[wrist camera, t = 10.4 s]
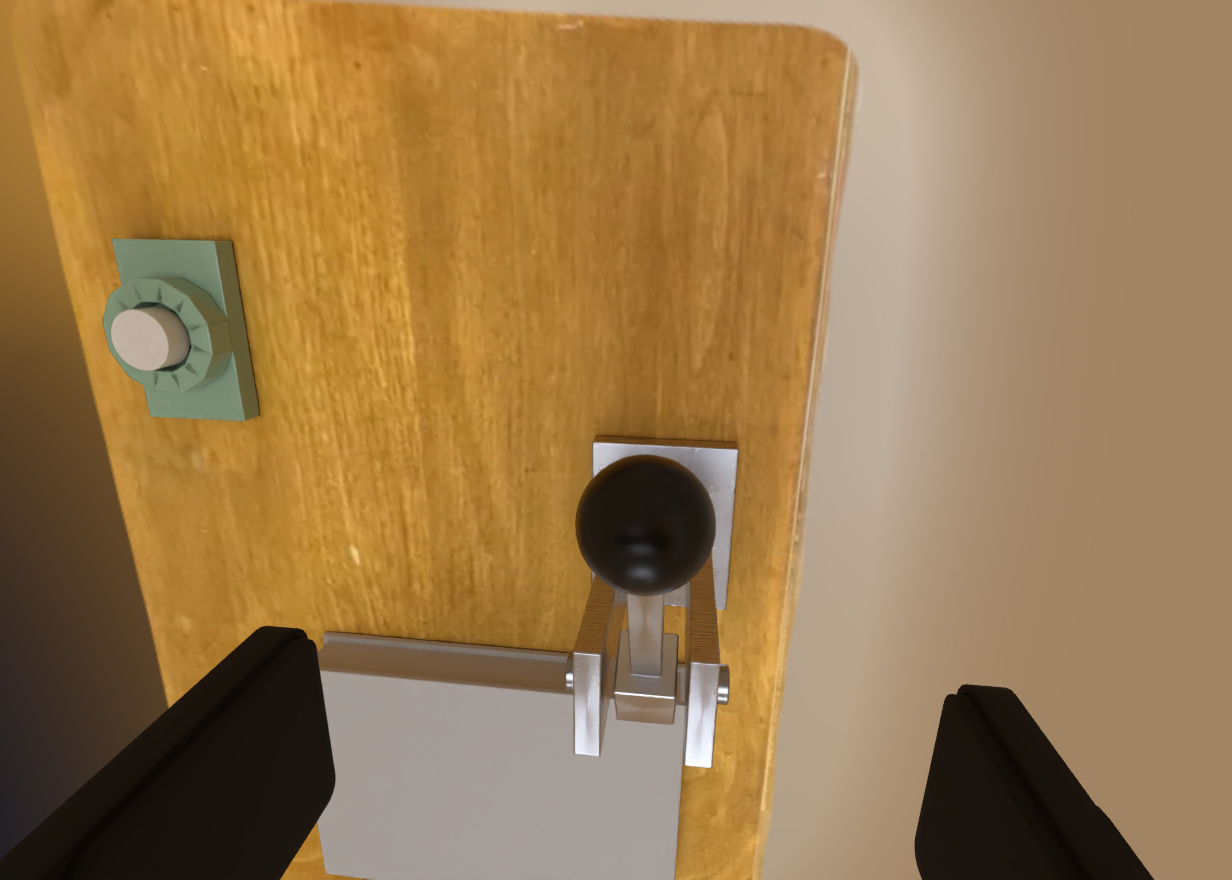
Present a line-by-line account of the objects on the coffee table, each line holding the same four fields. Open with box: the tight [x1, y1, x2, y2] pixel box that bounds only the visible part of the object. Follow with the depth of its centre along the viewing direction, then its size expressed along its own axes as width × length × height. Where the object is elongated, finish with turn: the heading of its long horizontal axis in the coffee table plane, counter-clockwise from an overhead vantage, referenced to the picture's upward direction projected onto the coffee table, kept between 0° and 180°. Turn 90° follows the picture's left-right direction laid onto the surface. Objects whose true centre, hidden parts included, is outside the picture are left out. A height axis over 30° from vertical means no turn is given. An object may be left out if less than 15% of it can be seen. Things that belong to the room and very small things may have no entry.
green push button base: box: [103, 239, 260, 421], centre depth 35 cm, size 10×6×3 cm, turn 179°
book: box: [317, 632, 685, 880], centre depth 42 cm, size 18×4×24 cm
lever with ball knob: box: [575, 454, 716, 725], centre depth 20 cm, size 13×4×4 cm, turn 179°
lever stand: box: [565, 436, 739, 768], centre depth 29 cm, size 10×8×16 cm
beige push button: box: [111, 306, 190, 371], centre depth 33 cm, size 3×3×2 cm
